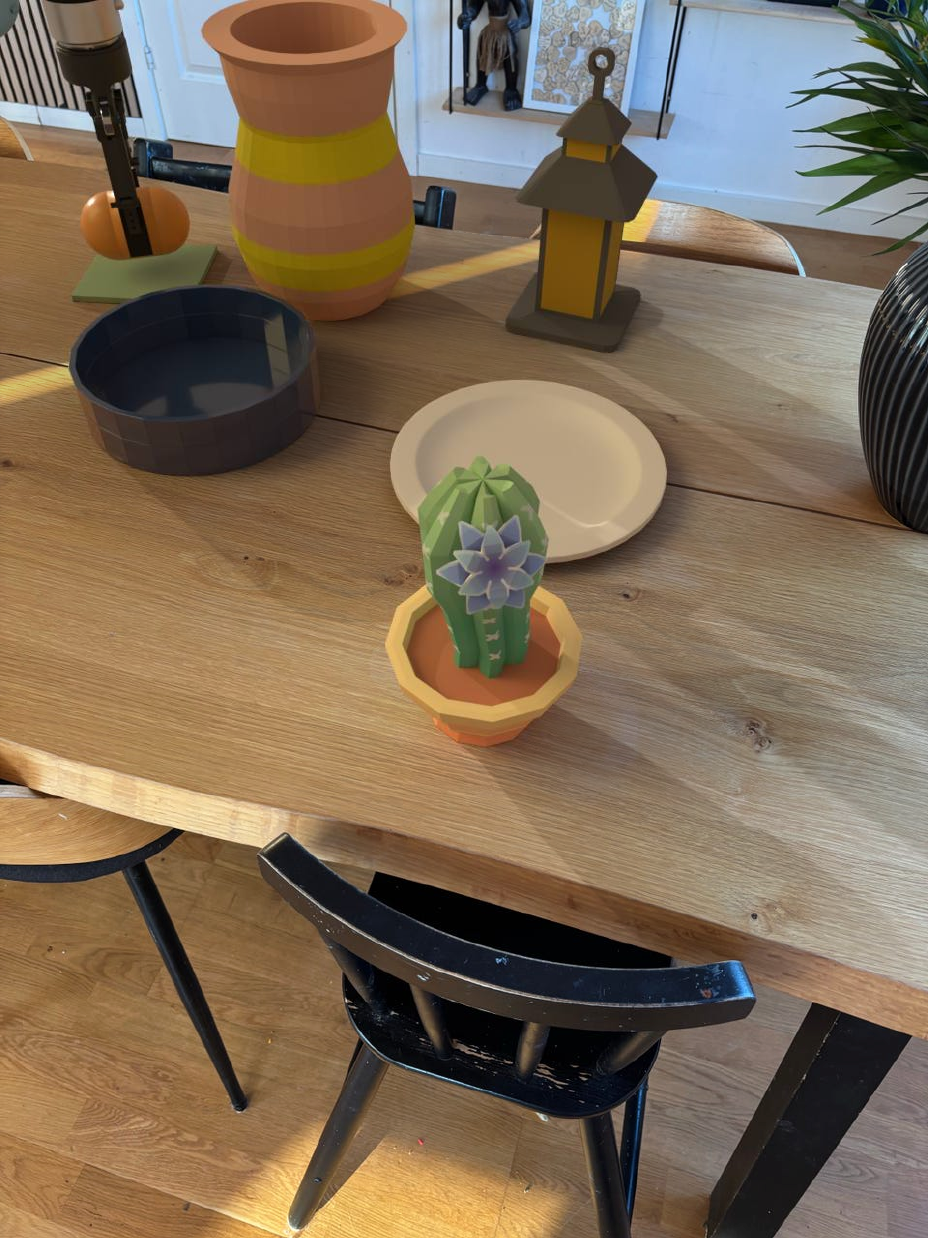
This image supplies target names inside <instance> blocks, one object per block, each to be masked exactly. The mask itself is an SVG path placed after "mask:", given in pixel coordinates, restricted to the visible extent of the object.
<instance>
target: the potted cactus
mask: <svg viewBox="0 0 928 1238" xmlns="http://www.w3.org/2000/svg"><path fill="white" fill-rule="evenodd" d="M539 504H540V500H539V498H538V496H537V494H536V492H535V490H534V488H533V486H532V485H531V484H530V483H528V482H527V481H526V480H525V479H524V478H523V477H522V476H521V475H520V474H518V473H517V472H516V471H515V470H514V469H513V468H512V467H511V466H509V465H508V464H507V463H502V464H499V465H497V466H496V467H495V468H494V469H493V470H492V469H491V467H490V464H489V462H488V461H487V460H486V459H485V458H484V457H483V456H477V457H475V459H474V461H473V462H472V464H471V466H470V467H469V469H468V470H467V469H465V468H462V467H455V468H454V469H453V470H452V471H451V472H449V473H448V474H447V475H446V476H445V477H444V478H443V479H442V480H441V481H440V482H439V483H438V484H437V485H436V486H434V488H433V489H432V490H431V491H430V493H429V494H428V495H427V496H426V498H425V499H424V500H423V502H422V503H421V504H420V506H419V507H418V517H419V524H418V525H419V533H420V541H421V551H422V561H423V568H424V578H425V584H424V585H423V586H422V587H420V588H419V589H418V590H417V591H415V592H414V593H413V594H412V595H411V596H409V597H408V598H407V599H405V600H404V601H403V602H402V603H400V604H399V605H398V606H397V607H396V609H395V612H394V615H393V618H392V620H391V625H390V627H389V630H388V633H387V636H386V640H385V643H384V648H385V650H386V653H387V656H388V658H389V661H390V663H391V666H392V670H393V672H394V674H395V677H396V679H397V682H398V685H399V687H400V689H401V691H402V694H403V695H404V696H405V697H407V698H408V699H409V700H411V701H412V702H413V703H415V704H416V705H417V706H419V707H420V709H421V710H422V711H423V712H425V713H426V714H428V715H429V716H430V717H431V718H432V719H433V723H434V724H435V727H436V728H438V729H439V730H440V731H442V732H443V733H444V734H446V735H447V736H448V737H450V738H451V739H453V740H454V742H457V743H461V744H465V745H471V746H478V747H483V748H488V747H492V746H494V745H499V744H502V743H506V742H508V741H513V740H514V739H515V738H516V737H518V735H520V733H521V732H523V731H524V729H525V728H527V727H528V726H529V725H530V724H531V722H532V721H533V720H534V719H536V718H540V717H542V715H543V714H544V713H545V712H547V710H548V709H550V708H551V706H552V705H554V703H556V701H558V700H559V699H560V698H561V696H563V695H564V694H565V692H567V691H568V690H569V689H570V688H571V687H572V685H573V684H574V682H575V679H576V678H577V676H578V670H579V664H580V657H581V651H582V644H583V637H584V636H583V634H582V632H581V630H580V629H579V627H578V625H577V623H576V622H575V619H574V618H573V616H572V614H571V613H570V610H569V609H568V607H567V605H566V603H565V602H564V600H563V599H561V598H560V597H558V596H556V595H555V594H554V593H552V592H551V591H549V590H546V589H545V588H544V587H542V586H540V584H541V582H542V580H543V575H544V571H545V565H546V564H547V563H546V562H547V557H546V554H547V548H548V542H549V538H548V536H547V534H546V531H545V529H544V527H543V525H542V522H541V520H540V518H539V517H538V511H539Z"/></svg>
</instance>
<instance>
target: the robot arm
mask: <svg viewBox="0 0 928 1238" xmlns="http://www.w3.org/2000/svg"><path fill="white" fill-rule="evenodd" d="M40 1H41V5H42V8H43V12H44V15H45V16H44V17H45V19H46V23H47V26H48V29H49V33H50V36H51V38H52V39H53V40H55V44H54V49H55V53H56V58H57V61H58V64H59V69H60V72H61V75H62V78H63V79H64V81H66V82H67V83H68V84H70V85H73V86H76V87H84V88H86V89H88V90H87V91H85V92H84V95H85V98H86V100H85V103H86V108H87V111H88V115H89V116H90V118H91V119H92V123H93V127H94V128H93V129H94V132H95V136H96V140H97V141H98V142H99V143H100V145H101V148H102V152H103V156H104V157H103V158H104V161H105V164H106V169H107V172H108V176H109V180H110V185H111V190H113V193H114V197H115V202H113V203H110V204H111V208H118V212H119V216H120V219H121V223H122V227H123V231H124V235H125V239H126V242H127V246H128V250H129V254H130V258H133V257H141V256H149V255H153V251H152V247H151V243H150V239H149V235H148V231H147V227H146V222H145V218H144V214H143V210H142V206H141V202H140V199H139V197H138V196H137V191H136V188H138V187H141V186H140V182H139V178H138V174H137V169H136V168H134V167H141V164H140V159H139V157H138V156H133V155H132V153H133V150H132V147H131V146H130V143H129V131H128V127H127V119H126V118H127V117H126V109H125V101H124V96H123V92H122V88H121V87H119V88H118V87H117V88H116V85H115V84H117V83H118V84H120V83H122V82H124V81H126V80H127V79H129V78H130V77H131V75H132V73H133V65H132V61H131V55H130V52H129V46H128V43H127V38H125V36H124V35H123V34H122V32H123V30H124V27H123V23H122V19H121V14H120V12H119V11H122V10H124V8H125V3H124V2H123V0H40ZM19 12H20V0H0V38H2V37H3V36H5V35H7V33H9V32H10V31H11V29H12V28H13V26H14V25H15V23H16V21H17V19H18V15H19Z"/></svg>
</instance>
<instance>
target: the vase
mask: <svg viewBox="0 0 928 1238" xmlns="http://www.w3.org/2000/svg"><path fill="white" fill-rule="evenodd" d="M200 31H201V37H202V39H203V40H204V42H206V44H207V45H208V46H209V47H211V49H212V50H214V51H215V53H217V54H218V56H219V60H220V64H221V68H222V72H223V76H224V80H225V83H226V85H227V88H228V90H229V93H230V94H229V95H230V96H231V99H232V102H233V104H234V107H235V110H236V112H237V114H238V117H239V119H238V126H237V133H236V141H235V148H234V157H233V162H232V167H231V172H230V173H231V174H230V177H229V183H228V197H229V198H228V199H229V206H230V207H229V208H230V218H231V229H232V234H233V238H234V241H235V243H236V245H237V248H238V250H239V252H240V255H241V257H242V259H243V261H244V264H245V266H246V268H247V270H248V272H249V275H250V276H251V278H252V280H253V281H254V283H256V285H257V287H259V288H260V289H261V291H264V292H267V293H269V294H271V295H274V296H276V297H279V298H281V299H284V300H286V301H287V302H288V303H290V304H291V305H292V306H294V307H295V308H297V309H298V310H299V311H301V312H302V313H303V315H304V316H305V318H306V319H307V321H308V320H309V321H318V322H335V321H344V320H349V319H354V318H359V317H361V316H363V315H366V314H369V313H370V312H372V311H374V310H375V309H378V308H379V307H380V306H381V305H382V304H383V303H385V302H386V300H387V299H388V298H389V296H390V294H391V293H392V292H393V289H394V288H395V287H396V285H397V284H398V282H399V280H400V279H401V277H402V275H403V274H404V272H405V269H406V267H407V264H408V260H409V256H410V250H411V246H412V242H413V237H414V234H415V233H414V232H415V230H416V229H415V228H416V219H415V217H416V216H415V208H414V207H415V206H414V198H413V197H414V195H413V187H412V178H411V175H410V173H409V170H408V167H407V165H406V163H405V160H404V157H403V154H402V152H401V150H400V146H399V144H398V140H397V138H396V135H395V132H394V128H393V125H392V122H391V119H390V116H389V113H388V107H389V102H390V97H391V89H392V83H393V78H394V69H395V68H394V67H395V53H396V52H395V51H396V46H397V45H398V44H399V43H400V42H401V40H402V39H404V36H405V35H406V33H407V32H408V22H407V21H406V19H405V16H403V14H401V13H400V12H399V11H397V10H396V9H394V8H393V7H391V6H389V5H387V4H384V3H381V2H378V1H375V0H244V1H241V2H237V3H234V4H232V5H228V6H226V7H225V8H222V9H219V10H218V11H216V12H214V13H213V14H211V15H210V16H209V17H208V18H207V19H206V20H205V21H204V22H203V25H202V27H201V29H200Z"/></svg>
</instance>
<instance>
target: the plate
mask: <svg viewBox="0 0 928 1238" xmlns="http://www.w3.org/2000/svg"><path fill="white" fill-rule="evenodd" d="M390 452H391V453H390V459H389V471H390V480H391V484H392V487H393V490H394V492H395V496H396V498H397V499H398V501H399V502H400V504H401V506H402V508H403V509H404V510H405V512H406V513H407V514H408V515H409V516H410V517H411V518H412V520H414V521H415V522H416V524H418V525H419V517H418V507H419V506H420V504H421V503H422V502H423V500H424V499H425V498H426V496H427V495H428V494H429V493H430V491H431V490H432V489H433V488H434V486H436V485H437V484H438V483H439V482H440V481H441V480H442V479H443V478H444V477H445V476H446V475H447V474H448V473H449V472H451V471H452V470H453V469H454V468H455V467H462V468H465V469H467V470H468V469H469V467H470V466H471V464H472V462H473V461H474V459H475V457H477V456H483V457H484V458H485V459H486V460H487V461H488V462H489V464H490V467H491V469H492V470H493V469H494V468H495V467H496V466H497V465H499V464H502V463H507V464H508V465H509V466H511V467H512V468H513V469H514V470H515V471H516V472H517V473H518V474H520V475H521V476H522V477H523V478H524V479H525V480H526V481H527V482H528V483H530V484H531V485H532V486H533V488H534V490H535V492H536V494H537V496H538V498H539V500H540V504H539V511H538V517H539V518H540V520H541V522H542V525H543V527H544V529H545V531H546V534H547V536H548V538H549V542H548V548H547V554H546V557H547V562H546V563H545V564H553V563H554V564H555V563H564V562H565V563H566V562H570V561H575V560H580V559H586V558H588V557H592V556H595V555H597V554H601V553H604V552H607V551H609V550H611V549H613V548H615V547H617V546H619V545H621V544H623V543H625V542H627V541H628V540H629V539H630V538H632V537H634V536H635V535H636V534H638V533H639V532H641V531H642V529H644V527H645V526H646V525H648V523H649V522H650V521H651V520H652V519H653V518H654V516H655V515H656V513H657V511H658V510H659V508H660V506H661V504H662V502H663V501H662V500H663V498H664V495H665V492H666V489H667V476H668V469H667V463H666V458H665V455H664V452H663V451H662V448H661V445H660V443H659V441H657V439H656V438H655V436H654V435H653V433H652V432H651V430H650V429H649V428H648V427H647V426H646V425H645V424H644V422H642V420H640V419H639V418H637V417H636V416H635V415H634V414H632V413H631V412H630V411H628V409H626V408H624V407H623V406H621V405H619V404H617V403H616V402H614V401H613V400H611V399H608V398H606V397H604V396H602V395H599V394H597V393H595V392H592V391H590V390H586V389H583V388H580V387H577V386H574V385H568V384H563V383H559V382H553V381H547V380H546V381H545V380H538V379H537V380H535V379H508V380H507V379H506V380H494V381H488V382H482V383H476V384H473V385H470V386H466V387H461V388H459V389H456V390H453V391H451V392H449V393H446V394H443V395H442V396H440V397H438V398H436V399H434V400H432V401H430V402H429V403H427V404H426V405H425V406H423V407H421V408H420V409H419V410H418V411H416V412H415V413H414V414H413V415H412V416H411V417H410V418H409V419H408V420H407V421H406V422H405V423H404V425H403V426H402V428H401V429H400V431H399V432H398V434H397V436H396V438H395V440H394V443H393V445H392V448H391V451H390Z"/></svg>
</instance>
